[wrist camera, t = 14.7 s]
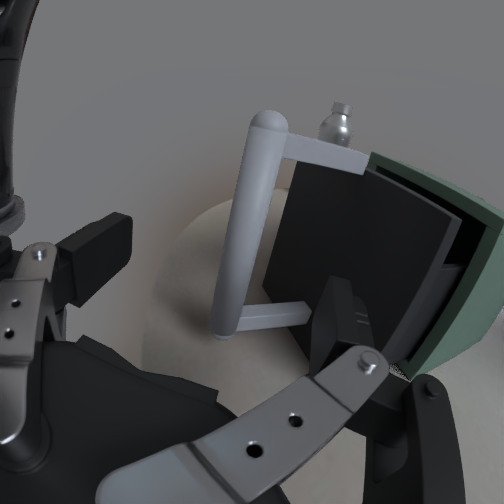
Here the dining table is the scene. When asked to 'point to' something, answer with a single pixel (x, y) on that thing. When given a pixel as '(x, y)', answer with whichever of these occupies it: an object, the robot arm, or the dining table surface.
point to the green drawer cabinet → (476, 276)
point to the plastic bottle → (337, 126)
